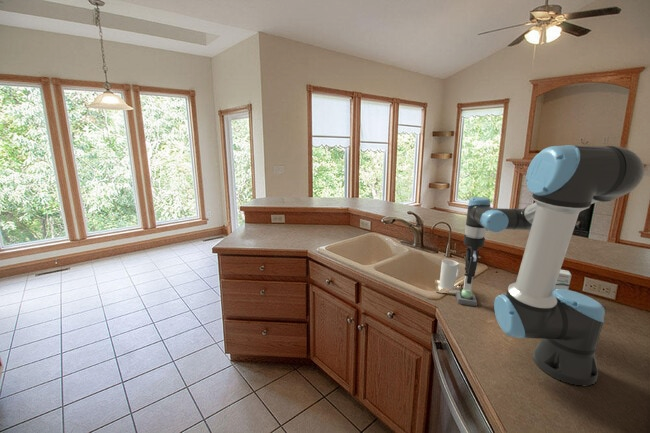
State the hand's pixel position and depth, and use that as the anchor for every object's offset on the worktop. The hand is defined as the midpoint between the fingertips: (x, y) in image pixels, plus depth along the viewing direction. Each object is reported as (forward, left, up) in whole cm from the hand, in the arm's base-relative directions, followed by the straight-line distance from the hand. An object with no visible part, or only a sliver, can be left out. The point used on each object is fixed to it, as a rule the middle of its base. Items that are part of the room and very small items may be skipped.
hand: (467, 289), depth 127 cm
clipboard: (+10, +6, -5) cm, 13 cm away
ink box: (+17, -38, -6) cm, 42 cm away
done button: (0, 0, -4) cm, 4 cm away
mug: (+10, +6, -5) cm, 13 cm away
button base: (0, 0, -5) cm, 5 cm away
